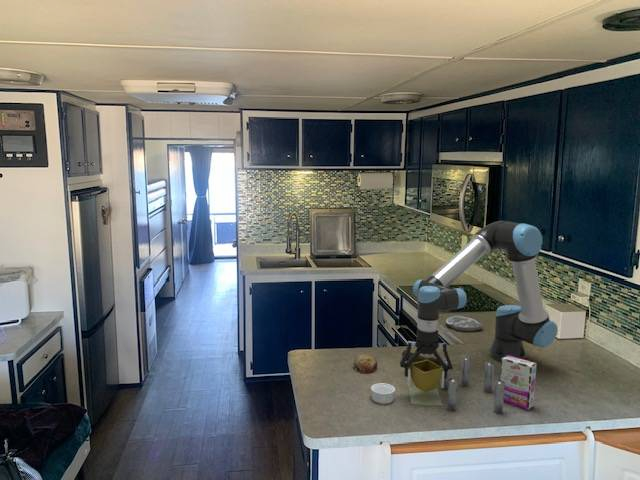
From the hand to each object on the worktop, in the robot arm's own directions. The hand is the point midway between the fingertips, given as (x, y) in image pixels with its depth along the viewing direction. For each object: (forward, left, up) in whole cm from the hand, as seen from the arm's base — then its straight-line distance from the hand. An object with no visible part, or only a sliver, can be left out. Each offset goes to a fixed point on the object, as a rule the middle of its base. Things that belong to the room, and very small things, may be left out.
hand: (425, 385), depth 188 cm
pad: (0, 0, -5) cm, 5 cm away
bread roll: (+22, -24, -5) cm, 33 cm away
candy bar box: (-33, +1, -5) cm, 33 cm away
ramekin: (+15, +3, -5) cm, 17 cm away
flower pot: (0, 0, -1) cm, 1 cm away
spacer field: (-17, -2, -5) cm, 17 cm away
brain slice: (-27, -81, -5) cm, 85 cm away
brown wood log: (-2, -31, -5) cm, 31 cm away
